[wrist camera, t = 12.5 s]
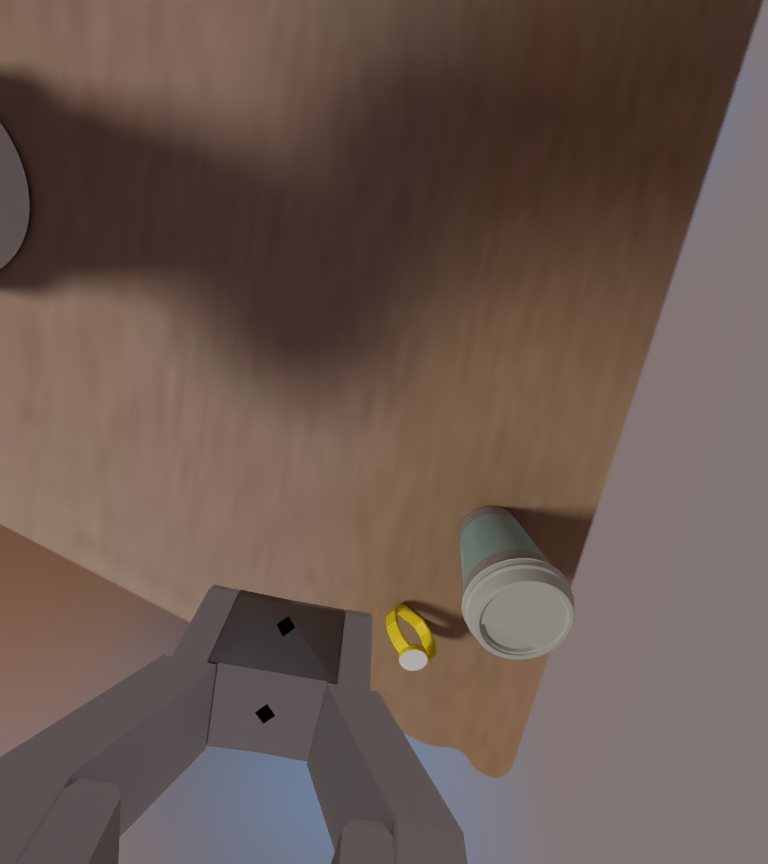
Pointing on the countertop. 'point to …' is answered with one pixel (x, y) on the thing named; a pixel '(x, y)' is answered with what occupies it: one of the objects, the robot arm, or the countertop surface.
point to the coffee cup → (511, 588)
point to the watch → (409, 654)
